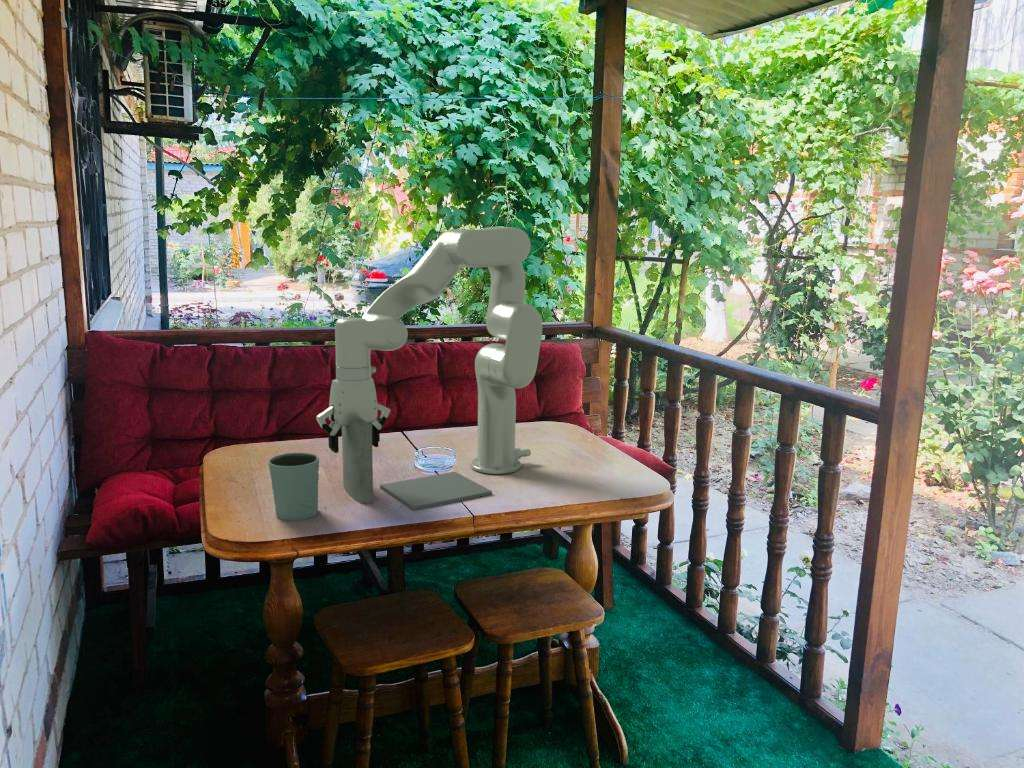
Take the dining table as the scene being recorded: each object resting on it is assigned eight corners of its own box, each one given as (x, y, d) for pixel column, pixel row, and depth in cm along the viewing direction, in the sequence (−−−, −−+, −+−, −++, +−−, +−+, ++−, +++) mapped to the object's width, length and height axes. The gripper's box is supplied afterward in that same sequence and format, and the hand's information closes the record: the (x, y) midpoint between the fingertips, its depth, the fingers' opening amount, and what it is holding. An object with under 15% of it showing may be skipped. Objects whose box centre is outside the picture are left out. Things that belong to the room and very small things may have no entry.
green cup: (328, 516, 165) (326, 461, 163) (280, 525, 159) (278, 469, 157) (309, 502, 173) (308, 449, 171) (264, 511, 167) (261, 456, 165)
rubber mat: (455, 474, 194) (455, 471, 194) (491, 494, 180) (491, 491, 180) (380, 488, 183) (380, 484, 183) (413, 510, 169) (413, 506, 169)
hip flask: (375, 502, 174) (373, 414, 170) (357, 505, 172) (355, 416, 168) (354, 481, 188) (353, 399, 184) (337, 483, 186) (335, 400, 182)
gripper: (382, 368, 182) (382, 439, 185) (309, 374, 173) (311, 449, 176) (396, 373, 176) (396, 447, 179) (321, 380, 166) (323, 458, 170)
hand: (354, 448), depth 178 cm, fingers open, 9 cm apart
